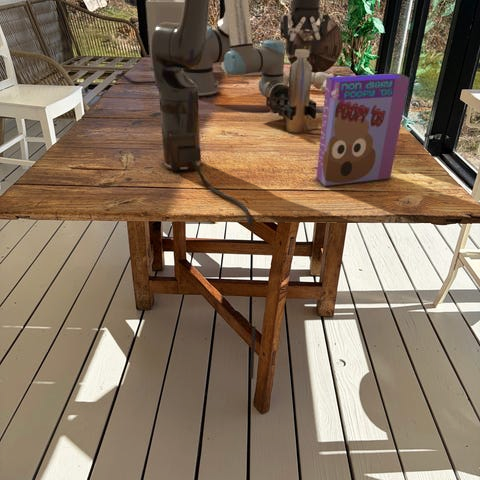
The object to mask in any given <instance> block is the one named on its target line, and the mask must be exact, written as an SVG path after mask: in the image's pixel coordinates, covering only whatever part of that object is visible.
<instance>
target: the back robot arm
mask: <svg viewBox="0 0 480 480" xmlns="http://www.w3.org/2000/svg"><path fill="white" fill-rule="evenodd" d="M223 3H224V15H223V17H222V18H219V20H218V21H217V24H216V29H213V27H212V26H210V25H207V33H206V42H205V49H204V53H203V56H202V59H201V61H200V63H199V64H198V66H197V67H195V68H194V69H184V68H183V70H184V72H185V74H186V75H187V76H188V77H189V78H190V79H191V80H192V81H194V82H195V83H196V84H197V86H198V99H204V98H211V97H214V96H217V95H218V94H219V87H218V85H220V81H219V80H216V78H215V75H214V64H217V63H221V62H224V66H225V69H226V71H227V72H228V73H229V74H230V75H244V74H248V73H255V72H262V75H261V77H260V79H259V82H258V91H259V92H260V93H261V95H262V96H263V97H264V98H265V99H266V101H265V106H267V107H269V109H270V111H271V112H272V113H273V114H277V113H278V116H279V117H283V116H285V117H286V119H287V118H288V119H289V120H293V110H292V109H291V108H289V107H288V106H287V104H288V89H289V85H288V86H287V85H286V84H284V83H283V76H284V68H285V58H286V57H285V56H286V50H285V41H283V40H280V39H266V40H264V41H262V45H261V47H257V48H256V47H255V48H254V45H253V34H252V25H251V16H250V15H251V14H250V13H251V9H252V8H253V4H254V0H223ZM118 77H123V78H124V79H126V80H128V81H130V82H131V83H133V84H156V83H155V80H146V81H145V80H144V81H137V80H133V79H131V78H130V77H128V76H126V75H124V74H123V73H117V74H116V75H115V78H118ZM308 117H310V118H312V119H313V120H316V118H317V102H316V101H314V100H312V99H309V111H308Z"/></svg>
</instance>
